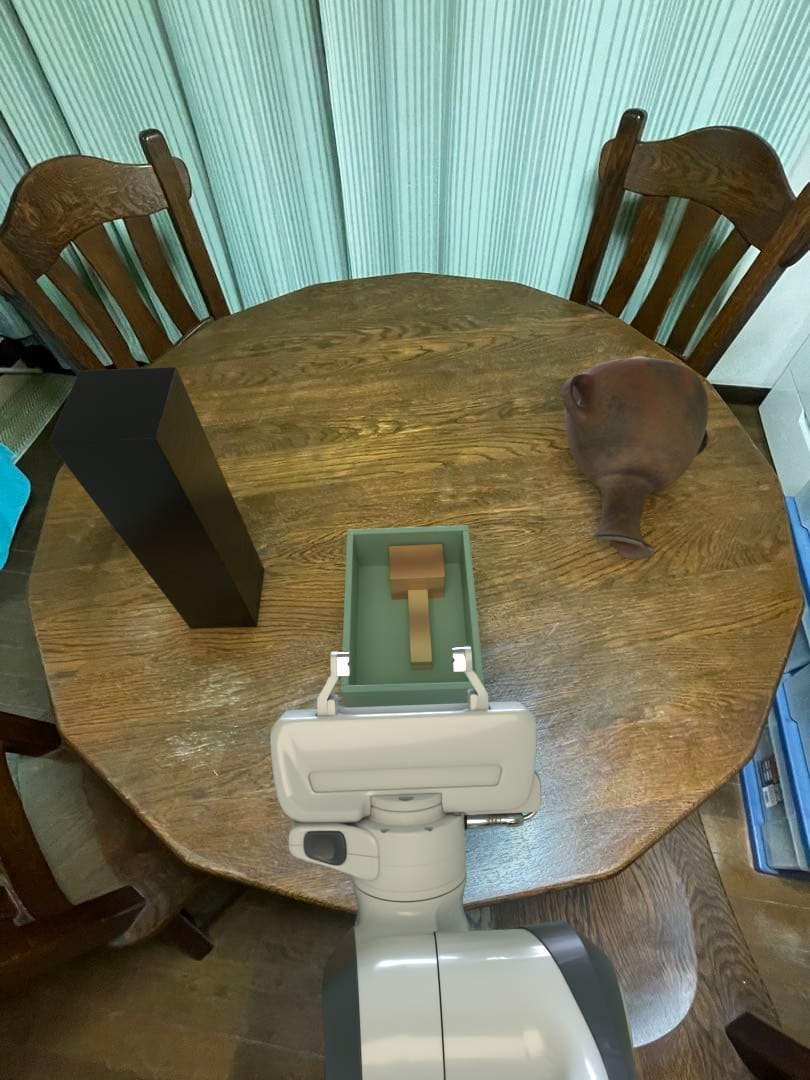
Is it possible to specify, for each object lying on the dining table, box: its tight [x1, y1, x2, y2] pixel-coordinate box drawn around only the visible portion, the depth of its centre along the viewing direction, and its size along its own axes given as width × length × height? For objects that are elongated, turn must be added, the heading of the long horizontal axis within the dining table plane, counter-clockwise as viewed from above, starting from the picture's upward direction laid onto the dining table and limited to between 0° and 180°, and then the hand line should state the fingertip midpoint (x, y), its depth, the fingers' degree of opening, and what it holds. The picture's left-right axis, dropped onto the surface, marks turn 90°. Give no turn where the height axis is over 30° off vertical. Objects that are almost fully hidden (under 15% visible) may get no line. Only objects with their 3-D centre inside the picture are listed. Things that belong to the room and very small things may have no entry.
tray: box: [340, 524, 486, 708], centre depth 74 cm, size 22×16×10 cm
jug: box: [561, 355, 709, 561], centre depth 83 cm, size 20×20×30 cm
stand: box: [48, 366, 265, 630], centre depth 67 cm, size 9×9×36 cm
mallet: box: [389, 544, 445, 670], centre depth 75 cm, size 15×7×6 cm, turn 2°
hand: (400, 648), depth 46 cm, fingers open, 8 cm apart
